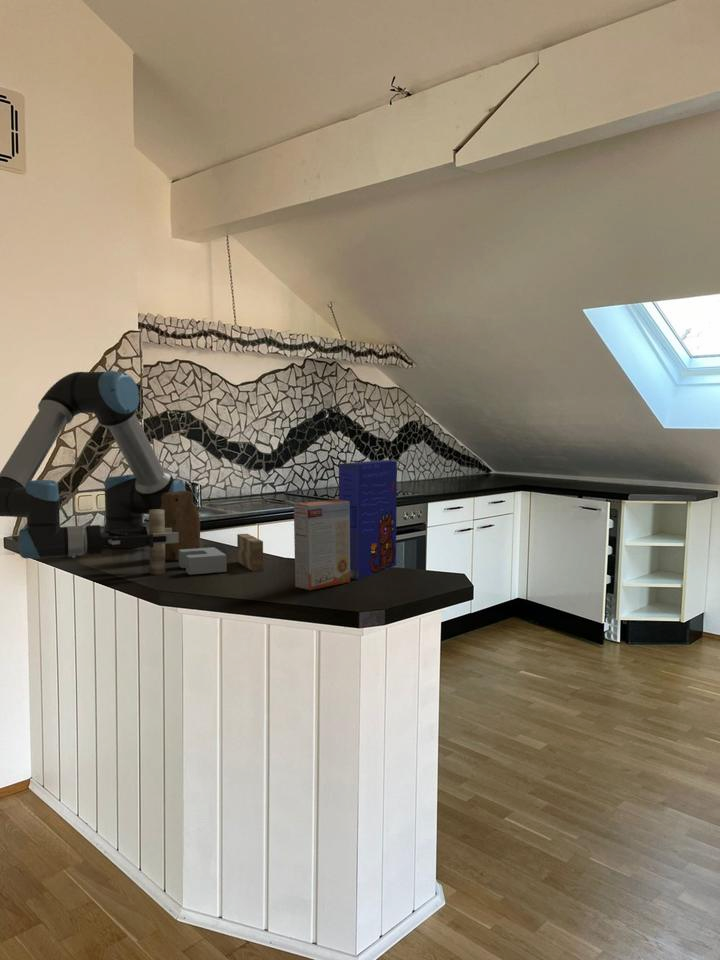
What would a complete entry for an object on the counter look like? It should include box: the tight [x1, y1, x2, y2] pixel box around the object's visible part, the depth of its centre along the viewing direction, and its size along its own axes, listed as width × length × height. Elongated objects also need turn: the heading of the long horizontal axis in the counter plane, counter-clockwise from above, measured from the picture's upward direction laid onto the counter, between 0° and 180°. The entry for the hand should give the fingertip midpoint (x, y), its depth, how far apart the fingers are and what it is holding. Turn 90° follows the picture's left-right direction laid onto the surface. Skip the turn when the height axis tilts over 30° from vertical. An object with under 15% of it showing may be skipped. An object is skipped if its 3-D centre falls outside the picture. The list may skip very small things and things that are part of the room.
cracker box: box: [293, 499, 351, 591], centre depth 183 cm, size 14×6×21 cm, turn 134°
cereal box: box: [338, 459, 398, 580], centre depth 200 cm, size 22×6×30 cm, turn 151°
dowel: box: [148, 509, 166, 576], centre depth 197 cm, size 4×4×17 cm
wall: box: [236, 533, 264, 572], centre depth 208 cm, size 15×3×8 cm, turn 25°
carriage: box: [178, 547, 228, 576], centre depth 202 cm, size 14×10×4 cm
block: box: [161, 490, 201, 562], centre depth 218 cm, size 11×8×20 cm
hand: (174, 535), depth 198 cm, fingers open, 8 cm apart
